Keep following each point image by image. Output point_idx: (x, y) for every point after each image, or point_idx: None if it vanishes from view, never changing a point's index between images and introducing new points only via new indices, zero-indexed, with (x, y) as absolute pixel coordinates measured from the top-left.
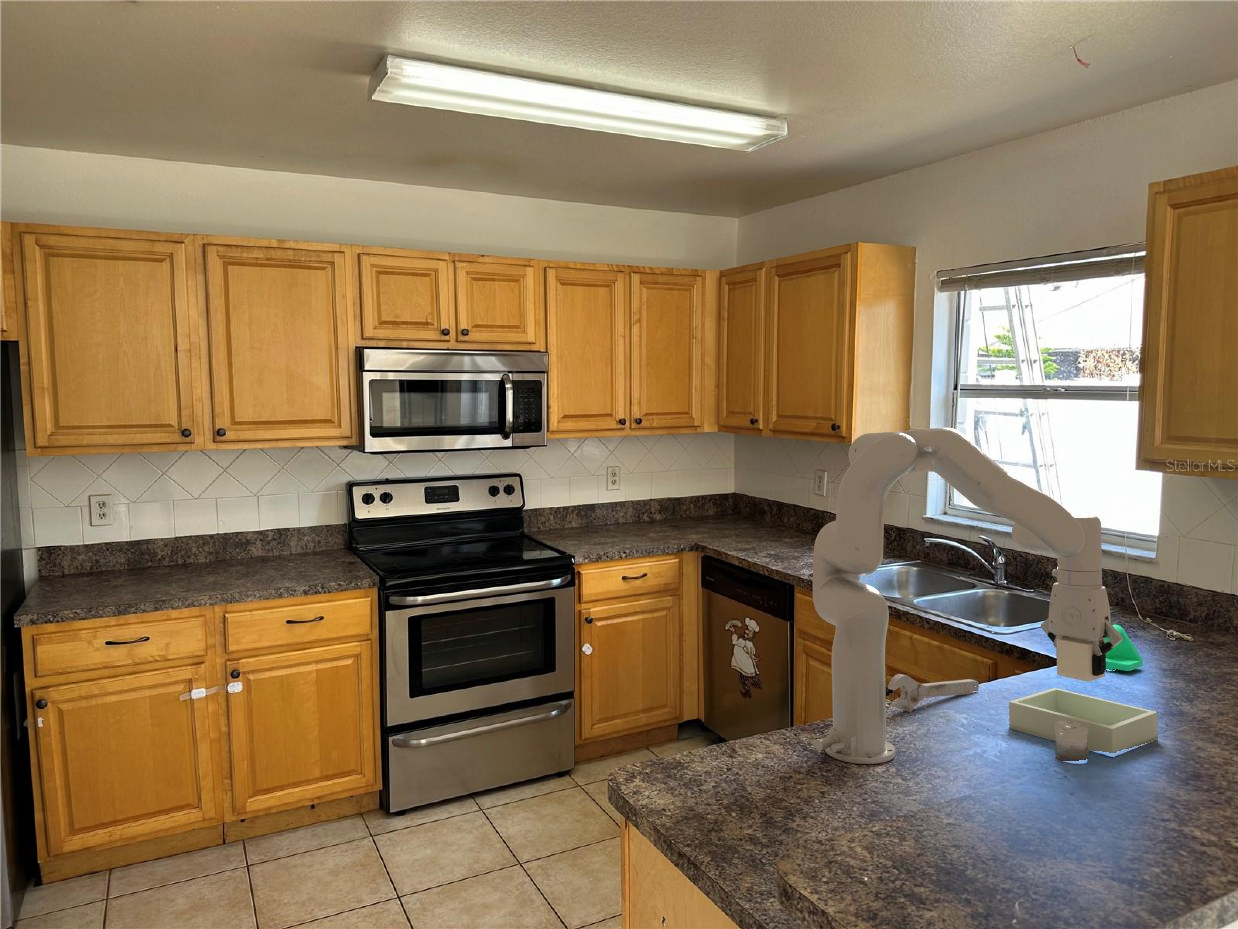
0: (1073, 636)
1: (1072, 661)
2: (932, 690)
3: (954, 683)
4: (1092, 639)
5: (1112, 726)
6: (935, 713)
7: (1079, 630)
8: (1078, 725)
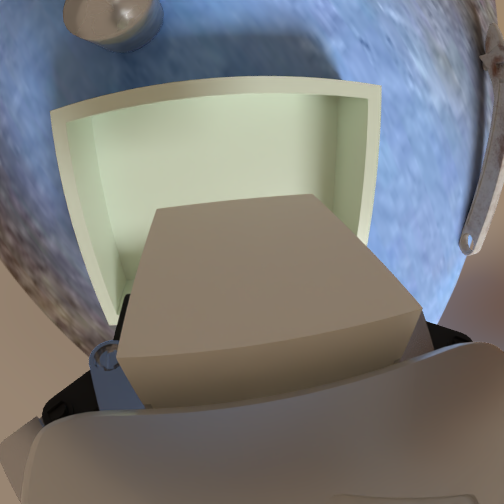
0: (286, 400)
1: (247, 240)
2: (501, 125)
3: (493, 192)
4: (73, 418)
5: (60, 128)
6: (461, 75)
7: (218, 495)
8: (93, 18)
